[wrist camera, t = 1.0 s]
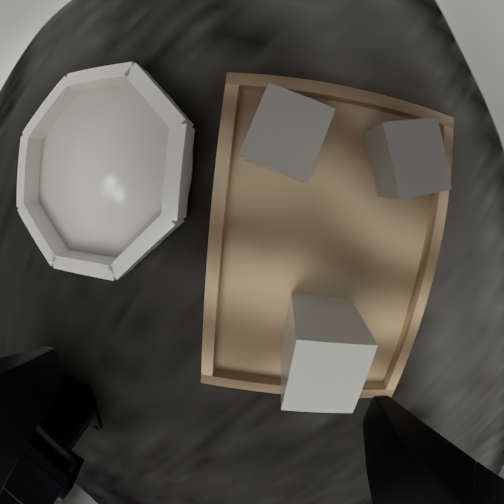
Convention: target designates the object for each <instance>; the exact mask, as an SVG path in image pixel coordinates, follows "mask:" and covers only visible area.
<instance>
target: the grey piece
mask: <svg viewBox="0 0 504 504" xmlns="http://www.w3.org/2000/svg"><path fill="white" fill-rule="evenodd" d="M363 134H364V138H365V142H366V146H367V150H368V154H369V158H370V162H371V167H372V172H373V176H374V181H375V186H376V191H377V196H379V197H385V198H391V199H397V200H401V199H406V198H411V197H416V196H421V195H426V194H432V193H437V192H442V191H447V190H452V186H451V179H450V173H449V168H448V163H447V157H446V153H445V148H444V143H443V139H442V135H441V131H440V127H439V123H438V119H437V117H436V118H422V119H411V120H401V121H392V122H383V123H381V124H379V125H377V126H375V127H373V128H371V129H370V130H368V131H366V132H364V133H363Z"/></svg>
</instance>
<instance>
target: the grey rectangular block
mask: <svg viewBox="0 0 504 504" xmlns="http://www.w3.org/2000/svg"><path fill="white" fill-rule="evenodd" d="M377 347H378V345H377V343H376V341H375V339H374V338H373V336H372V334H371V332H370V331H369V329H368V327H367V325H366V324H365V322H364V320H363V319H362V317H361V315H360V314H359V312H358V310H357V308H356V307H355V305H354V303H353V302H352V300H351V299H346V298H336V297H327V296H317V295H308V294H300V293H291V295H290V302H289V308H288V313H287V319H286V325H285V331H284V336H283V342H282V347H281V410H287V411H301V412H322V413H353V411H354V408H355V406H356V404H357V401H358V399H359V396H360V394H361V391H362V389H363V386H364V383H365V381H366V378H367V375H368V373H369V370H370V367H371V364H372V361H373V358H374V356H375V353H376V350H377Z"/></svg>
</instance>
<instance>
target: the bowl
mask: <svg viewBox="0 0 504 504" xmlns="http://www.w3.org/2000/svg"><path fill="white" fill-rule="evenodd" d="M192 126H194V124H193V123H192V122H191V121H190V120H189V119H188V117H187V116H186V115H185V114H184V113H183V112H182V111H181V109H180V108H179V107H178V106H177V105H176V103H175V102H174V101H173V99H172V98H171V97H170V96H169V95H168V94H167V93H166V92H165V91H164V90H163V89H162V88H161V87H160V85H159V84H158V83H157V82H156V81H155V80H154V79H153V78H152V77H151V75H150V74H149V73H148V72H147V71H146V70H144V69H143V68H142V67H141V66H139V65H138V64H137V63H133V62H126V63H119V64H113V65H107V66H101V67H96V68H91V69H86V70H81V71H77V72H72V73H68V74H67V76H64V77H63V78H62V79H61V80H60V81H59V83H58V84H57V85H56V86H55V88H54V89H53V90H52V91H51V93H50V94H49V95H48V97H47V98H46V99H45V100H44V102H43V103H42V104H41V106H40V107H39V109H38V110H37V111H36V113H35V114H34V116H33V117H32V119H31V120H30V121H29V123H28V124H27V126H26V127H25V129H24V130H23V132H22V133H23V135H24V136H21V140H20V149H19V159H18V173H17V207H19V208H18V210H17V211H18V213H19V214H20V216H21V218H22V220H23V222H24V223H25V225H26V227H27V229H28V230H29V232H30V234H31V236H32V237H33V239H34V241H35V242H36V244H37V246H38V247H39V249H40V250H41V252H42V254H43V255H44V257H45V258H46V260H47V261H48V263H49V264H50V266H53V268H54V269H59V270H63V271H68V272H72V273H77V274H82V275H87V276H91V277H96V278H101V279H106V280H111V281H114V280H118V279H119V278H121V277H122V276H124V275H125V274H127V273H128V272H130V271H131V270H132V269H133V268H134V267H135V266H136V265H137V264H138V263H139V262H140V261H141V260H142V259H143V258H144V257H146V256H147V255H148V254H149V253H150V252H151V251H152V250H154V249H155V248H156V247H157V246H159V245H160V243H161V242H162V241H163V240H164V239H165V238H166V237H167V236H169V235H170V234H171V233H172V232H173V231H174V230H175V229H176V228H177V227H179V226H180V225H181V224H182V223H183V222H184V220H183V218H186V216H187V203H188V195H189V191H190V188H191V182H192V176H193V143H194V134H195V129H194V128H192Z"/></svg>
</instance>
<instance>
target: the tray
mask: <svg viewBox="0 0 504 504" xmlns="http://www.w3.org/2000/svg"><path fill="white" fill-rule="evenodd" d="M268 83H270V84H273V85H276V86H279V87H282V88H285V89H288V90H290V91H293V92H296V93H298V94H301V95H304V96H306V97H309V98H311V99H314V100H316V101H319V102H321V103H323V104H326V105H328V106H330V107H333V108H335V109H336V110H335V112H334V115H333V118H332V120H331V123H330V125H329V128H328V130H327V133H326V136H325V138H324V141H323V143H322V146H321V148H320V151H319V153H318V156H317V158H316V161H315V164H314V166H313V169H312V171H311V174H310V176H309V179H308V181H307V182H299V181H297V180H294V179H292V178H289V177H287V176H284V175H282V174H279V173H277V172H274V171H272V170H269V169H267V168H264V167H261V166H259V165H256V164H253V163H251V162H248V161H246V160H244V159H243V158H242V157H240V156H239V153H240V150H241V148H242V145H243V143H244V140H245V138H246V135H247V133H248V130H249V128H250V125H251V123H252V121H253V118H254V116H255V113H256V111H257V109H258V106H259V104H260V101H261V99H262V97H263V94H264V92H265V90H266V87H267V85H268ZM436 117H437V119H438V123H439V127H440V131H441V135H442V139H443V143H444V148H445V153H446V157H447V163H448V168H449V173H450V179H451V170H452V156H453V134H454V118H453V117H451V116H448V115H445V114H443V113H440V112H437V111H434V110H432V109H429V108H426V107H423V106H420V105H417V104H413V103H410V102H407V101H404V100H400V99H397V98H393V97H390V96H386V95H382V94H378V93H374V92H370V91H366V90H362V89H357V88H352V87H348V86H343V85H338V84H332V83H327V82H321V81H314V80H308V79H301V78H293V77H285V76H275V75H264V74H251V73H231V72H227V76H226V83H225V90H224V98H223V105H222V113H221V121H220V129H219V137H218V146H217V154H216V163H215V173H214V183H213V193H212V203H211V215H210V226H209V238H208V251H207V265H206V281H205V297H204V316H203V338H202V366H201V383H206V384H211V385H217V386H223V387H230V388H236V389H243V390H251V391H259V392H268V393H277V394H281V347H282V342H283V336H284V331H285V325H286V319H287V313H288V308H289V302H290V295H291V293H300V294H308V295H317V296H327V297H336V298H346V299H351V300H352V302H353V303H354V305H355V307H356V308H357V310H358V312H359V314H360V315H361V317H362V319H363V320H364V322H365V324H366V325H367V327H368V329H369V331H370V332H371V334H372V336H373V338H374V339H375V341H376V343H377V345H378V347H377V350H376V353H375V356H374V358H373V361H372V364H371V367H370V370H369V373H368V375H367V378H366V381H365V383H364V386H363V389H362V391H361V394H360V396H359V398H372V397H374V396H380V395H387V396H389V397H392V395H393V393H394V390H395V388H396V386H397V384H398V381H399V379H400V376H401V374H402V372H403V369H404V367H405V364H406V362H407V359H408V357H409V354H410V351H411V349H412V346H413V343H414V340H415V337H416V334H417V332H418V329H419V326H420V322H421V319H422V316H423V313H424V310H425V306H426V303H427V300H428V296H429V292H430V289H431V285H432V281H433V277H434V273H435V269H436V265H437V260H438V256H439V251H440V246H441V241H442V236H443V230H444V225H445V219H446V212H447V205H448V198H449V190H447V191H442V192H437V193H432V194H426V195H421V196H416V197H411V198H406V199H401V200H397V199H391V198H385V197H379V196H377V191H376V186H375V181H374V176H373V172H372V167H371V162H370V158H369V154H368V150H367V146H366V142H365V138H364V134H363V133H364V132H366V131H368V130H370V129H371V128H373V127H375V126H377V125H379V124H381V123H383V122H392V121H401V120H411V119H422V118H436Z"/></svg>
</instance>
